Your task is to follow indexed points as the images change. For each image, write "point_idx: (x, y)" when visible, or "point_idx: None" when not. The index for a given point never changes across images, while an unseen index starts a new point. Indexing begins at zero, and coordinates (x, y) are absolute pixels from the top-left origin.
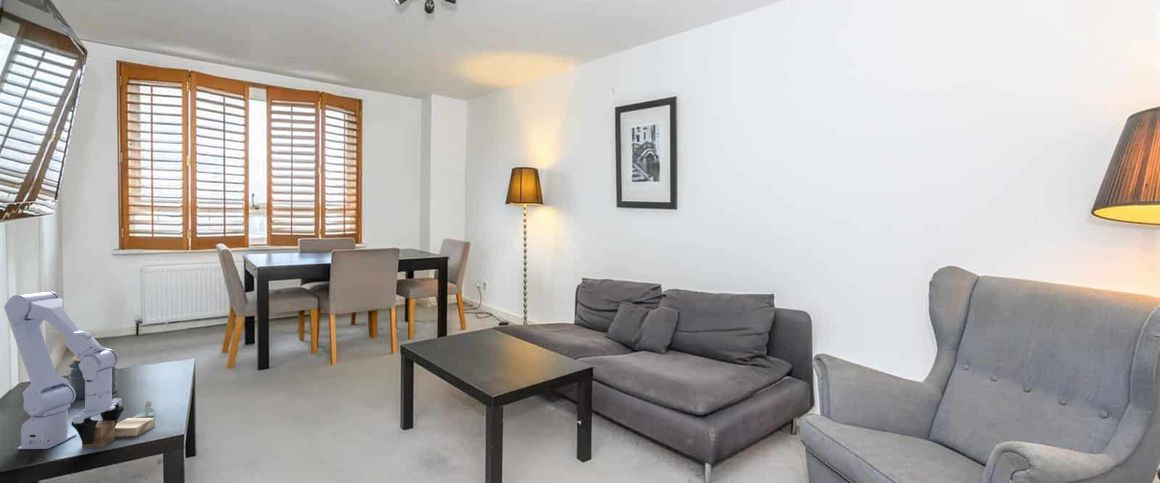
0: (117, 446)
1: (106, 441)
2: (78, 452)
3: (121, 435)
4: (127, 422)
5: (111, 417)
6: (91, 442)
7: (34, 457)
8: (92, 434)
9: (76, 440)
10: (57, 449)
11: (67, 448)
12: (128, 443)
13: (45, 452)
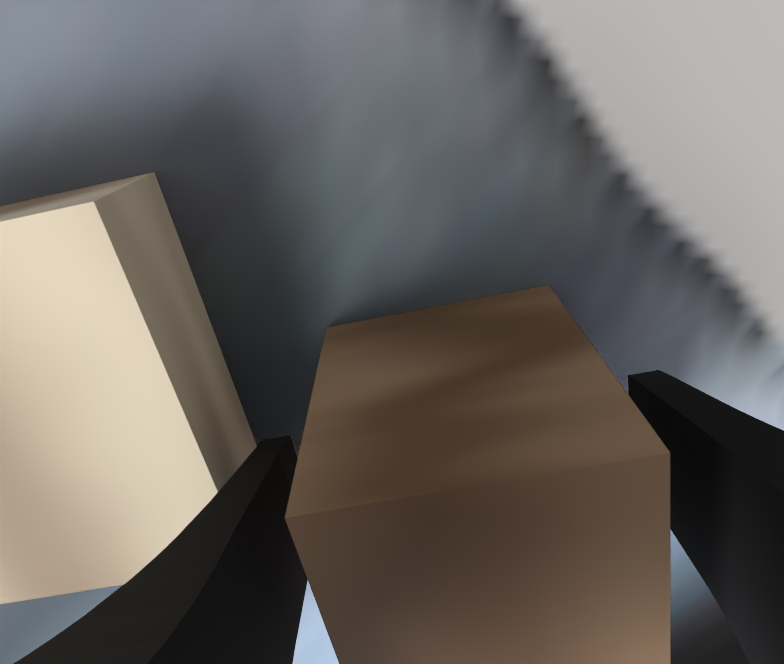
0: (497, 101)
1: (467, 317)
2: None
3: (214, 354)
4: (3, 507)
5: (233, 651)
6: (656, 377)
7: None
8: (741, 428)
9: None
10: None
11: None
12: (379, 35)
13: (674, 637)
